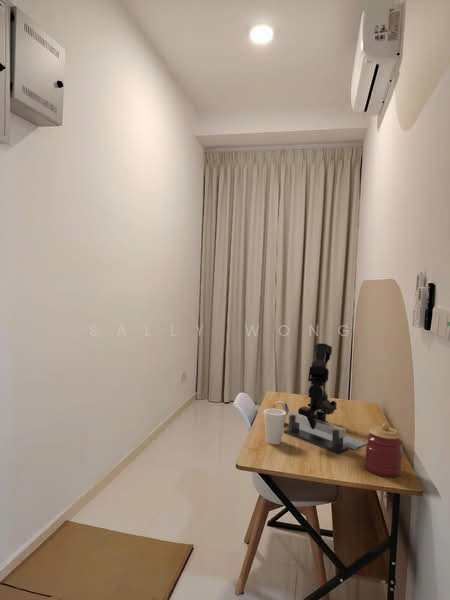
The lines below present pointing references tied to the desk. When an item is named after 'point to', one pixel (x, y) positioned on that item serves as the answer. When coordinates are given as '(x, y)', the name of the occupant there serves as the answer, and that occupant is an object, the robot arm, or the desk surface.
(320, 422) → the rail
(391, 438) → the canister
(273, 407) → the watch
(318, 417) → the robot arm
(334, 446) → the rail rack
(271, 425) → the foam cup
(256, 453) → the desk surface
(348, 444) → the mat
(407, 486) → the desk surface
